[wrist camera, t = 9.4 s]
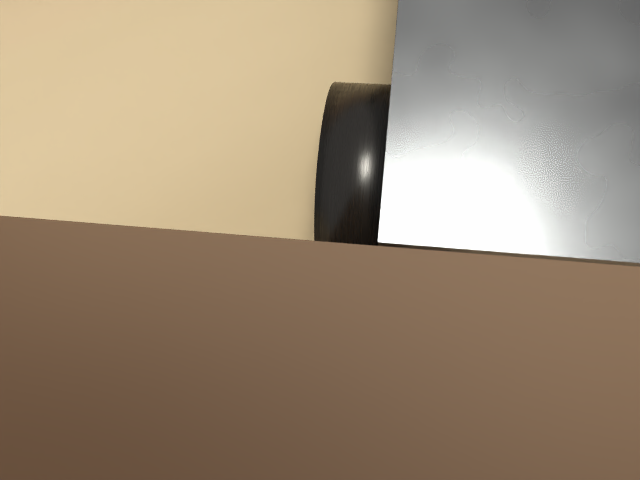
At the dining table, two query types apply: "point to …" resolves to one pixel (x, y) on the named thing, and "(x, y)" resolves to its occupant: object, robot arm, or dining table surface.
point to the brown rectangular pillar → (308, 360)
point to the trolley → (492, 134)
